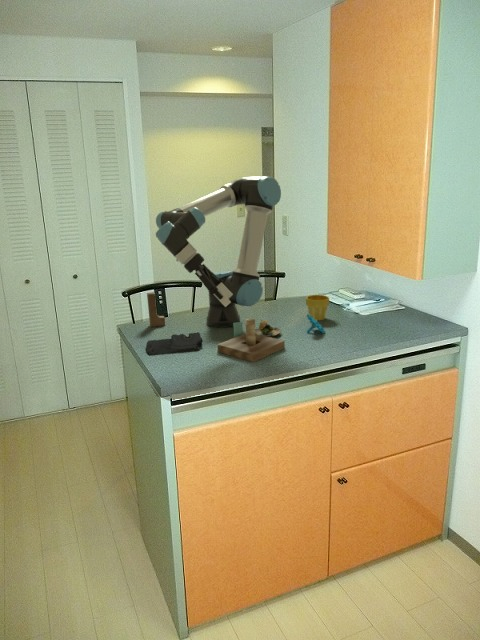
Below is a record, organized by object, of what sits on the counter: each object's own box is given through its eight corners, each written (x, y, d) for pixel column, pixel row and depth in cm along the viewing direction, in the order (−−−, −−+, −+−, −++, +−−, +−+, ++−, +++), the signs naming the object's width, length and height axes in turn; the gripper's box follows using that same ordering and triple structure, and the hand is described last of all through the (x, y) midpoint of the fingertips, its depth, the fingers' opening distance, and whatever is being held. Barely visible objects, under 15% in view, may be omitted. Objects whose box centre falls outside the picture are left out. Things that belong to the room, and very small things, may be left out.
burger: (268, 341, 204) (268, 323, 202) (246, 336, 212) (246, 318, 210) (287, 334, 213) (287, 316, 211) (265, 329, 220) (264, 312, 218)
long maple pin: (244, 350, 195) (243, 320, 192) (250, 347, 197) (249, 317, 194) (251, 352, 193) (250, 321, 189) (257, 349, 195) (256, 319, 192)
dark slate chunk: (146, 344, 208) (145, 333, 206) (200, 339, 212) (199, 328, 210) (147, 357, 193) (145, 345, 192) (204, 351, 197) (204, 339, 196)
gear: (325, 332, 206) (308, 315, 206) (315, 342, 207) (297, 325, 208) (326, 328, 217) (310, 311, 217) (316, 337, 218) (300, 321, 218)
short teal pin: (232, 340, 207) (231, 323, 205) (238, 337, 210) (237, 321, 208) (238, 342, 205) (238, 325, 203) (244, 339, 207) (244, 323, 205)
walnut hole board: (217, 351, 195) (217, 344, 194) (249, 339, 207) (248, 332, 206) (253, 362, 183) (253, 354, 182) (284, 348, 196) (284, 340, 195)
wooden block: (150, 327, 229) (147, 294, 225) (149, 325, 232) (146, 292, 228) (165, 325, 231) (162, 292, 227) (164, 323, 234) (161, 291, 230)
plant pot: (332, 316, 233) (332, 295, 230) (323, 322, 225) (323, 301, 222) (311, 314, 238) (311, 293, 236) (302, 320, 230) (301, 298, 227)
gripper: (187, 261, 202) (224, 300, 206) (177, 270, 178) (219, 314, 182) (201, 248, 201) (237, 287, 204) (193, 256, 177) (235, 301, 180)
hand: (229, 300), depth 193 cm, fingers open, 13 cm apart
